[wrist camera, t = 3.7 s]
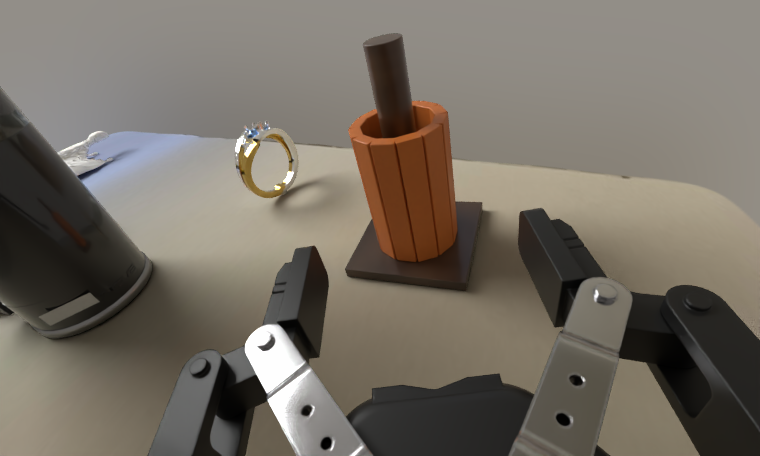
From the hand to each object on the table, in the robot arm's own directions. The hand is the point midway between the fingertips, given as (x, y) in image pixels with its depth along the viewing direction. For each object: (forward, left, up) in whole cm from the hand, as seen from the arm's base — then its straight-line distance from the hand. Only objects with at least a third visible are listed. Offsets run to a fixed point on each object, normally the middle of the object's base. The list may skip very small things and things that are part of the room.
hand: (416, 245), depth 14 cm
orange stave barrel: (-4, +10, -9) cm, 14 cm away
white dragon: (-66, +19, -10) cm, 69 cm away
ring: (-21, +16, -10) cm, 28 cm away
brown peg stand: (-4, +10, -10) cm, 15 cm away
